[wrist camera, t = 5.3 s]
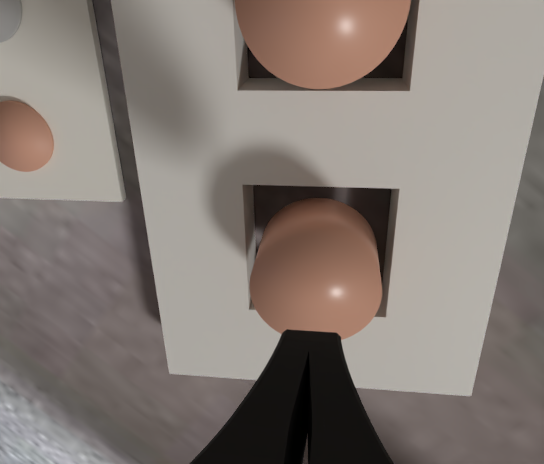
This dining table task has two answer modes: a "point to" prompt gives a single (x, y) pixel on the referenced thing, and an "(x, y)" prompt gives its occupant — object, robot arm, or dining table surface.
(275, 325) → the button
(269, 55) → the button
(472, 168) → the button board
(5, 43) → the pattern card
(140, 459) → the dining table surface
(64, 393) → the dining table surface
